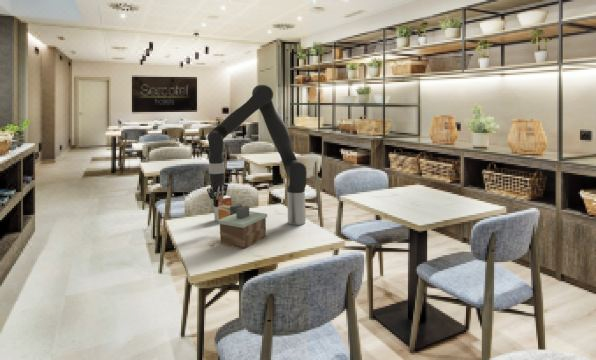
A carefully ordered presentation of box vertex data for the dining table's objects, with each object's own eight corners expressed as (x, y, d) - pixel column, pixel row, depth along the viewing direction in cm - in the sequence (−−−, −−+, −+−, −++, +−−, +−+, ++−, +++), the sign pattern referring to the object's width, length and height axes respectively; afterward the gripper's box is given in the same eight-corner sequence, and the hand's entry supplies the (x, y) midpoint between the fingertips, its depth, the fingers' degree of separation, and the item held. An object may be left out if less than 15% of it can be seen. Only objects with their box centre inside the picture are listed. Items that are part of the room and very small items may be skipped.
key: (218, 207, 213) (217, 194, 212) (242, 210, 206) (241, 197, 204) (214, 208, 210) (213, 196, 209) (238, 212, 203) (238, 199, 202)
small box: (218, 222, 227) (217, 199, 225) (214, 220, 232) (213, 196, 230) (232, 220, 232) (231, 197, 229) (227, 217, 237) (226, 194, 234)
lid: (243, 215, 208) (242, 201, 207) (267, 218, 202) (266, 204, 200) (218, 225, 192) (217, 210, 191) (243, 229, 185) (242, 214, 184)
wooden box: (238, 232, 211) (237, 203, 208) (266, 237, 203) (265, 207, 200) (215, 243, 196) (213, 212, 193) (243, 248, 188) (242, 217, 185)
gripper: (213, 174, 199) (215, 210, 203) (231, 170, 211) (233, 203, 215) (201, 173, 203) (203, 208, 206) (220, 169, 215) (221, 202, 218)
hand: (218, 205), depth 211 cm, fingers closed on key, 3 cm apart
